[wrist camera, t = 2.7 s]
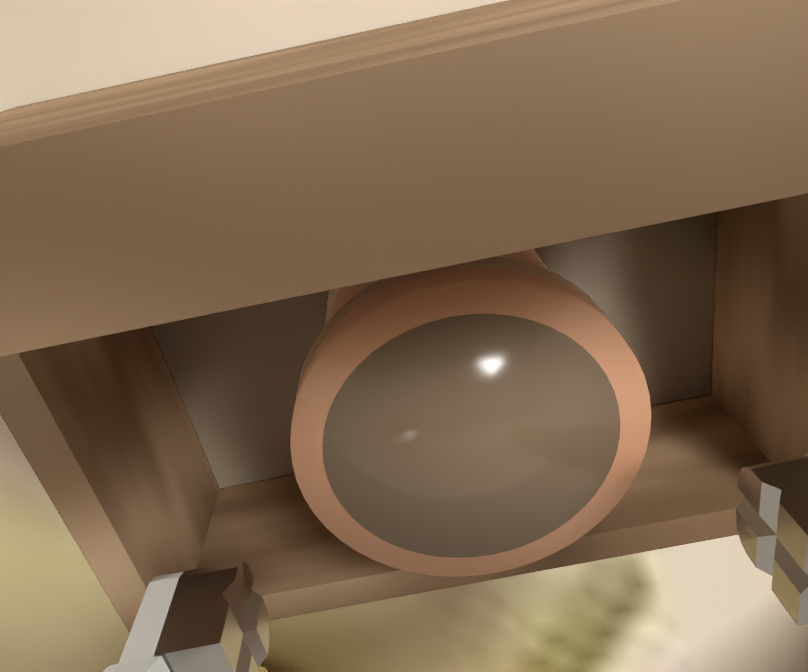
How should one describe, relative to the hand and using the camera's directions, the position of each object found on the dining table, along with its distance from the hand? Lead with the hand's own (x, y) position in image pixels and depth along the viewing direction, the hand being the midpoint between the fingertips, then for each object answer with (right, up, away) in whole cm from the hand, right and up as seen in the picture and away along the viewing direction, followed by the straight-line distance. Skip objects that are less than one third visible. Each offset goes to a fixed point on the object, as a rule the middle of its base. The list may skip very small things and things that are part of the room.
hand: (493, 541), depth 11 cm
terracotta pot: (-1, +5, +9) cm, 10 cm away
